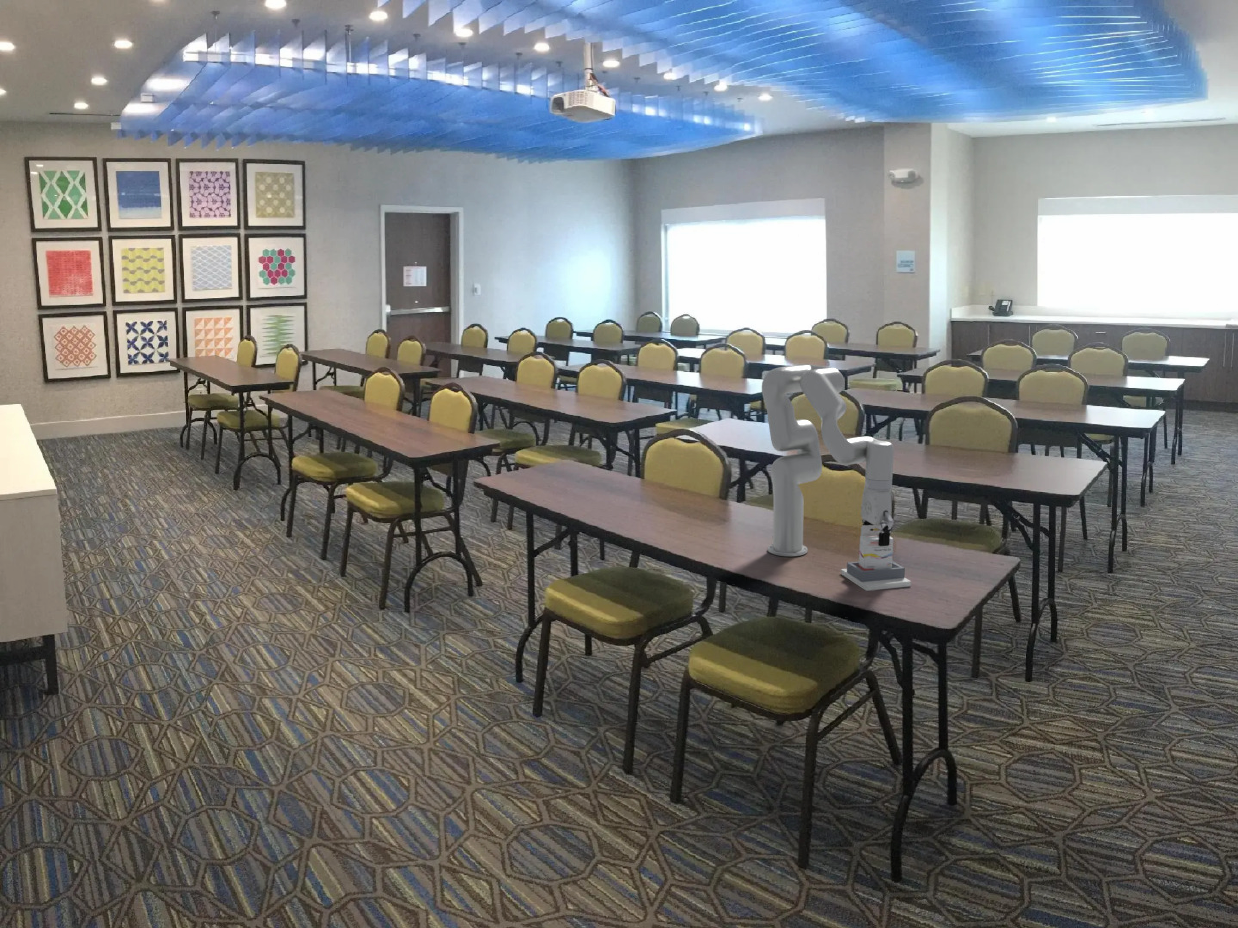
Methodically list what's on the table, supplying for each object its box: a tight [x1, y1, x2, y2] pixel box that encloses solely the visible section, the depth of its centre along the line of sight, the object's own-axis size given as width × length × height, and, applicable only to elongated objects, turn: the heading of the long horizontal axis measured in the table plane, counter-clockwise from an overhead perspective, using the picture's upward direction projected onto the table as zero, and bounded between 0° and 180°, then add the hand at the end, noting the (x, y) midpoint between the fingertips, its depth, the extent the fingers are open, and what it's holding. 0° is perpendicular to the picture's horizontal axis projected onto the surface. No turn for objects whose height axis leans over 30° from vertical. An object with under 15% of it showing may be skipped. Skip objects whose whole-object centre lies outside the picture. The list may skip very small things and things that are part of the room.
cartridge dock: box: [840, 560, 912, 592], centre depth 281 cm, size 16×14×4 cm
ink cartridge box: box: [858, 524, 894, 571], centre depth 280 cm, size 9×5×15 cm, turn 95°
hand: (875, 540), depth 279 cm, fingers open, 9 cm apart
